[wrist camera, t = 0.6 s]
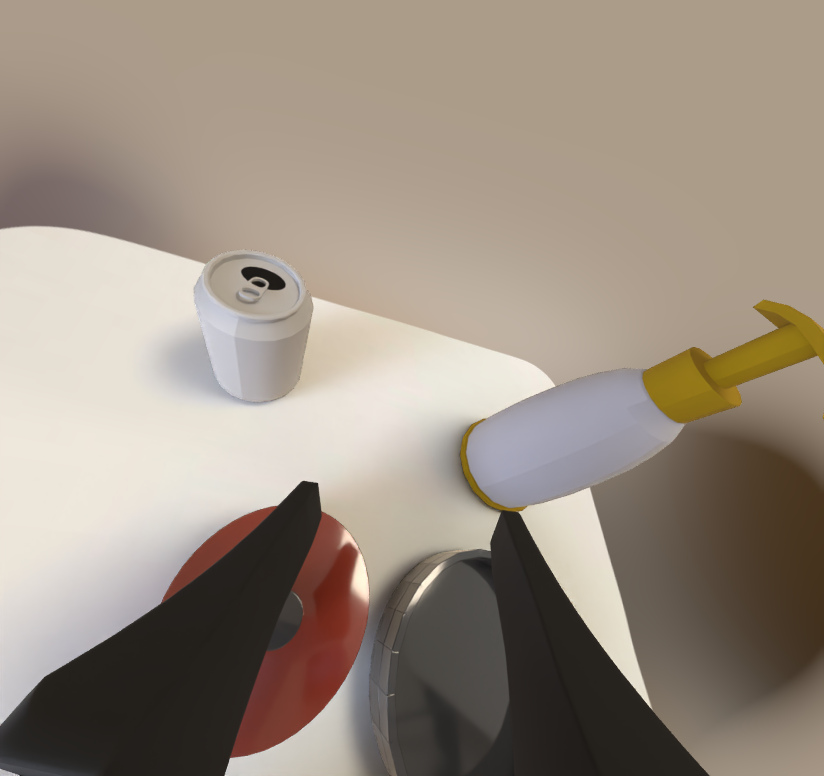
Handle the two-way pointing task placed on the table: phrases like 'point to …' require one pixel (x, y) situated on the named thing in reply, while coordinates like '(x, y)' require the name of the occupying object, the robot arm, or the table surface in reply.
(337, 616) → the lid
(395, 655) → the pan
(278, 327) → the can
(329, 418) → the table surface
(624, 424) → the soap bottle
